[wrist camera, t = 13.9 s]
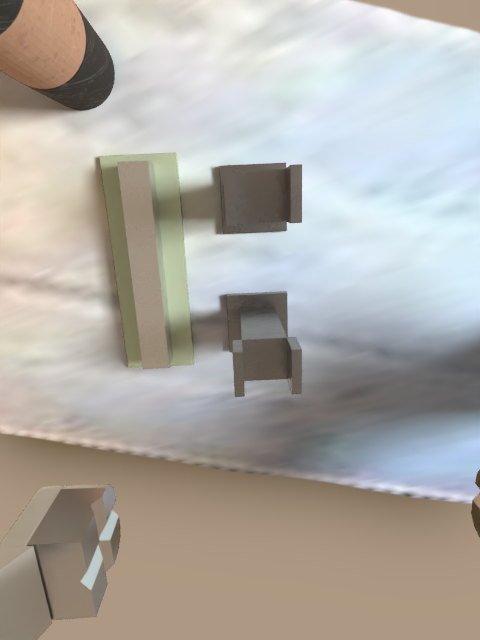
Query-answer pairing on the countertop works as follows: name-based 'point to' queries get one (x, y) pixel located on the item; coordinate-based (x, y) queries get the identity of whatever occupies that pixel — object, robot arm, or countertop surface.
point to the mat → (171, 254)
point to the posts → (269, 307)
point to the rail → (146, 261)
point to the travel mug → (55, 52)
